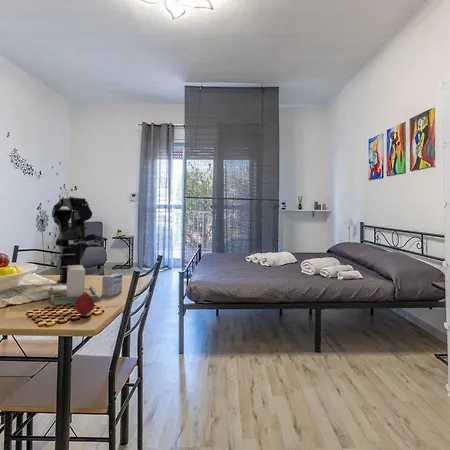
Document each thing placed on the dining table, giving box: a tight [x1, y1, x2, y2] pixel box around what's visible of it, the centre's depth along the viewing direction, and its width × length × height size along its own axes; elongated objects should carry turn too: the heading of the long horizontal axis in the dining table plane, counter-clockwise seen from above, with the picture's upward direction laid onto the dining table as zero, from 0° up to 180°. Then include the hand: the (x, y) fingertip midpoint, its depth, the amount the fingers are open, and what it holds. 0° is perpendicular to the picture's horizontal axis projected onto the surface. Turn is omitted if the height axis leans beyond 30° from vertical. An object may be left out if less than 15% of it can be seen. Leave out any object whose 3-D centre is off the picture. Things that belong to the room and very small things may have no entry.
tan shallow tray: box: [49, 285, 102, 305], centre depth 132 cm, size 23×16×4 cm
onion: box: [74, 291, 95, 317], centre depth 112 cm, size 6×6×8 cm
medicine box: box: [101, 273, 123, 297], centre depth 139 cm, size 8×4×9 cm, turn 168°
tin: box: [66, 264, 86, 297], centre depth 129 cm, size 12×5×11 cm, turn 28°
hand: (79, 260), depth 151 cm, fingers closed
